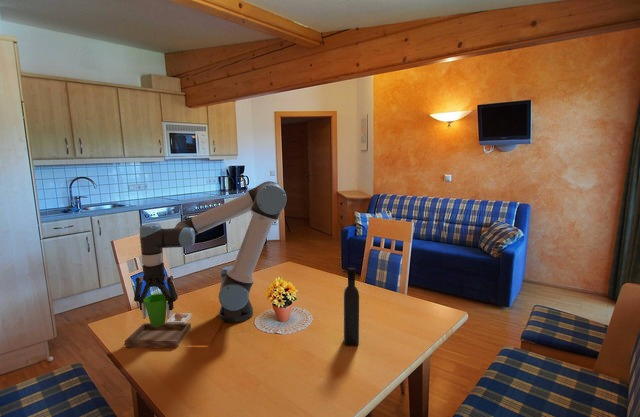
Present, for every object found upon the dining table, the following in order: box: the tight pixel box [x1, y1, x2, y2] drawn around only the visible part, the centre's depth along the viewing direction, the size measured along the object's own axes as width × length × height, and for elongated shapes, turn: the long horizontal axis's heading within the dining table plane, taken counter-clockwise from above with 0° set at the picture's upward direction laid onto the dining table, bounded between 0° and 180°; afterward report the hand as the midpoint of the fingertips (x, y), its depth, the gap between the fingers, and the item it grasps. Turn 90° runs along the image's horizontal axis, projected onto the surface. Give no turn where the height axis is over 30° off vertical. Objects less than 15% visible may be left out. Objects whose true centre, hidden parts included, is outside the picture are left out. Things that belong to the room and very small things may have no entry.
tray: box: [124, 322, 192, 349], centre depth 140 cm, size 20×14×3 cm
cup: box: [143, 292, 168, 327], centre depth 138 cm, size 9×9×11 cm
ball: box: [174, 311, 184, 321], centre depth 154 cm, size 4×4×4 cm
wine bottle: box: [343, 267, 360, 346], centre depth 134 cm, size 6×6×30 cm
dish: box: [165, 313, 193, 323], centre depth 154 cm, size 8×8×2 cm
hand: (157, 317), depth 139 cm, fingers closed on cup, 9 cm apart
